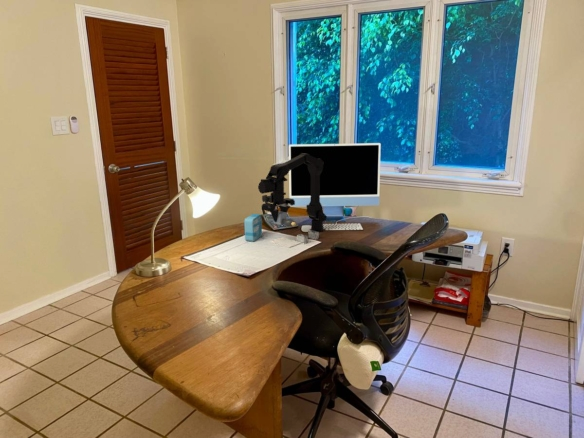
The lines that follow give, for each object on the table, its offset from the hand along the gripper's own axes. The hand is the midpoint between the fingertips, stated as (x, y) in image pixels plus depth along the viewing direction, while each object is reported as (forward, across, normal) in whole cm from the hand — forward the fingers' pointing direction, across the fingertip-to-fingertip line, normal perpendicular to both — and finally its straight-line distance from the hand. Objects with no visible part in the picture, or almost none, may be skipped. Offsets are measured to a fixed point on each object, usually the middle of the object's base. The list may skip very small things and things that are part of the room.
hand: (278, 220), depth 219 cm
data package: (+11, +6, -12) cm, 18 cm away
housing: (+10, -10, +10) cm, 18 cm away
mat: (+10, 0, +4) cm, 11 cm away
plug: (+1, 0, +5) cm, 5 cm away
